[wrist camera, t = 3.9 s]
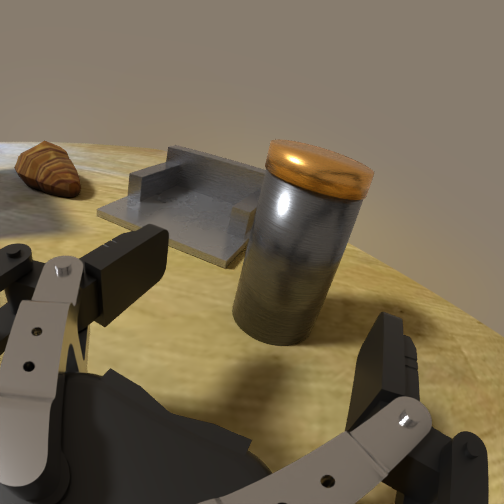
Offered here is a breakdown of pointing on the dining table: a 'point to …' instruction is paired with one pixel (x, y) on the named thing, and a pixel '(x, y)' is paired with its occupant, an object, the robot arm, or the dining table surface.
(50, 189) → the croissant
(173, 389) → the dining table surface
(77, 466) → the robot arm
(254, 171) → the keeper bracket
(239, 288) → the grey and copper cylinder
